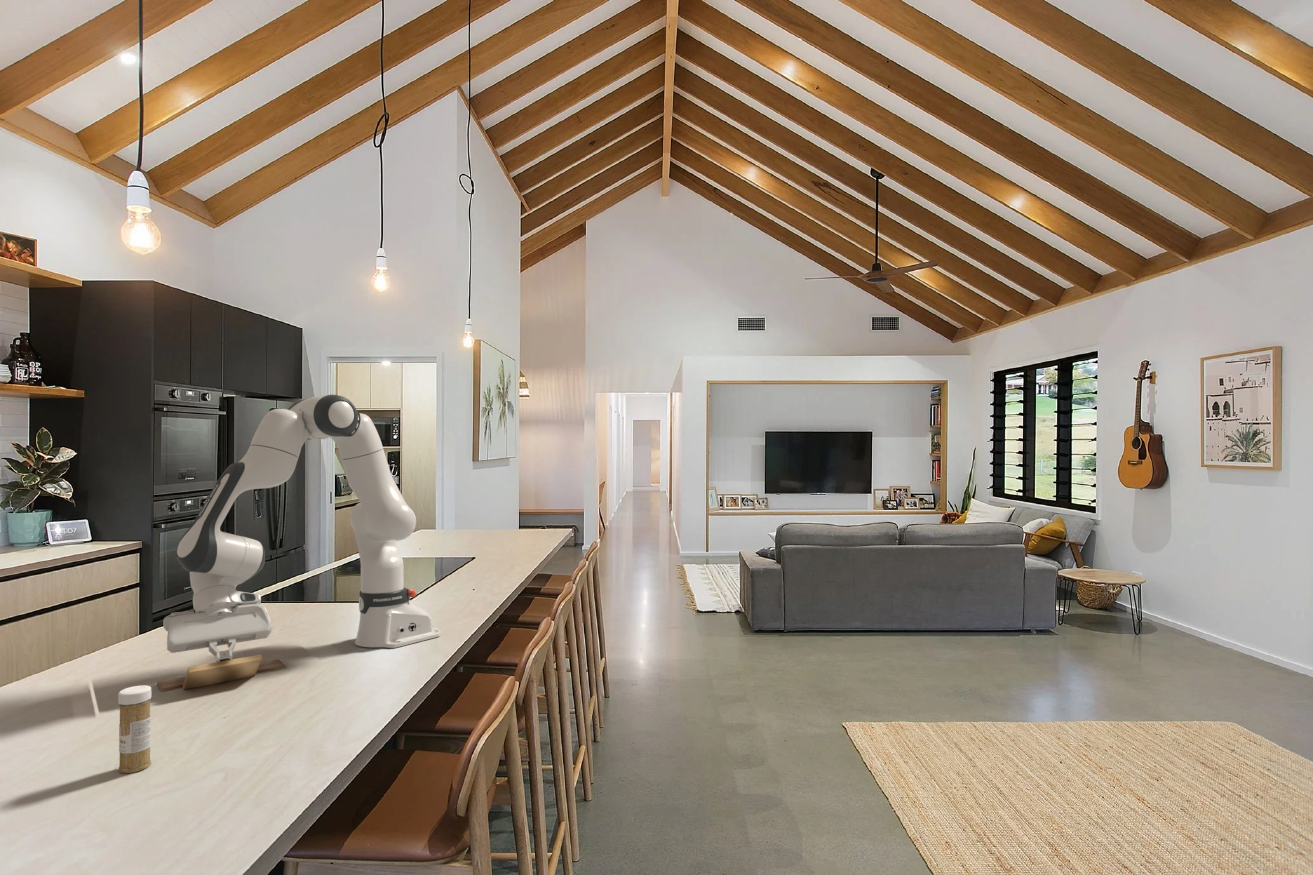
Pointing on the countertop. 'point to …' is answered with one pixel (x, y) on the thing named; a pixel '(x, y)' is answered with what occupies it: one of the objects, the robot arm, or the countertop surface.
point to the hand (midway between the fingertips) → (224, 659)
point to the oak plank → (221, 671)
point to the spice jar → (134, 728)
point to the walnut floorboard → (180, 681)
